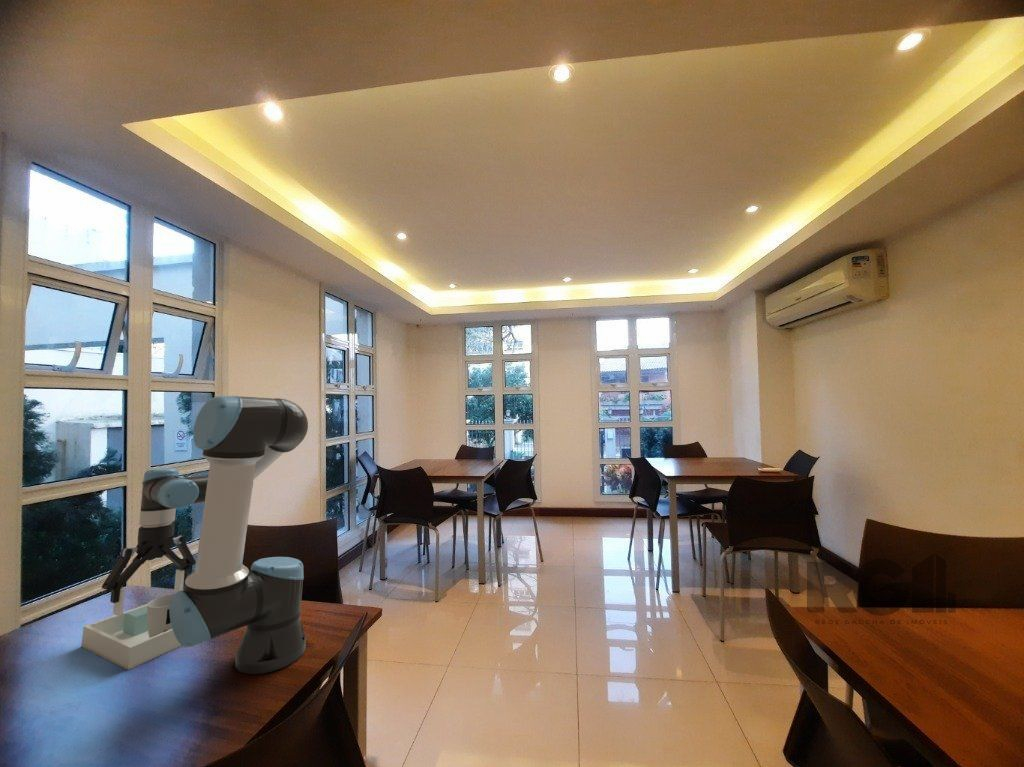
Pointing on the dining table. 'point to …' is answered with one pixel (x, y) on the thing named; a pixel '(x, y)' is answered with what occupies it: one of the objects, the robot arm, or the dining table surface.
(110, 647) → the tote
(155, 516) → the robot arm
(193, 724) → the dining table surface
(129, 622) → the cube
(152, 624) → the cup
